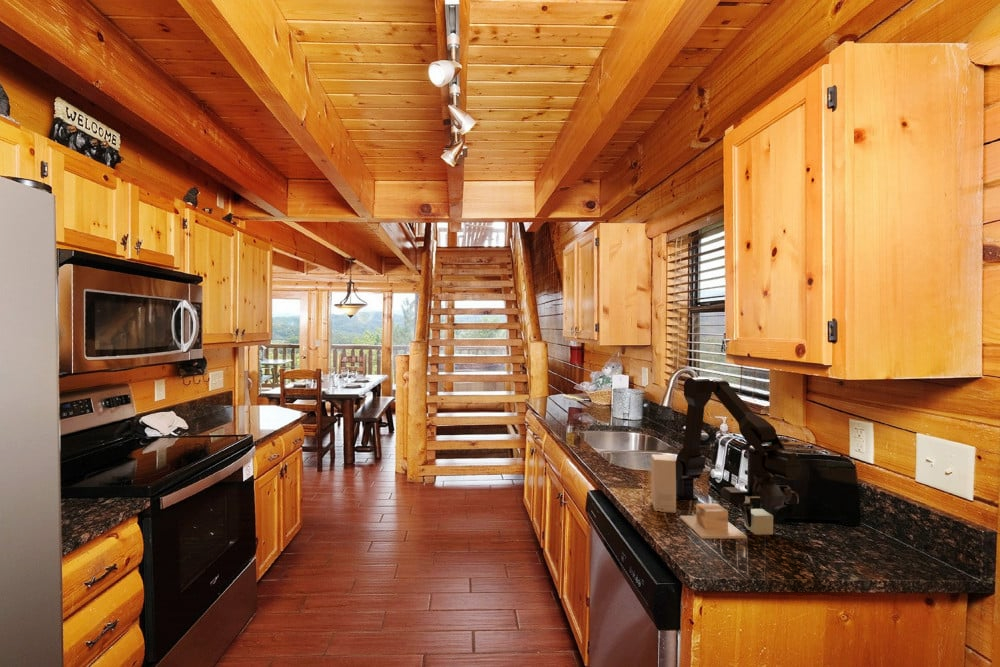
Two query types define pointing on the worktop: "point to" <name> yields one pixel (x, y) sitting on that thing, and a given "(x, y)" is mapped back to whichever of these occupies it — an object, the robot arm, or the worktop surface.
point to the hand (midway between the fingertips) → (758, 526)
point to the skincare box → (663, 483)
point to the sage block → (760, 522)
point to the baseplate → (704, 533)
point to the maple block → (712, 516)
